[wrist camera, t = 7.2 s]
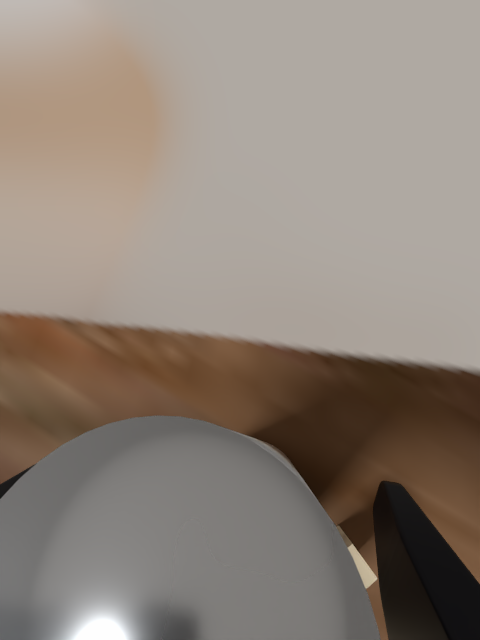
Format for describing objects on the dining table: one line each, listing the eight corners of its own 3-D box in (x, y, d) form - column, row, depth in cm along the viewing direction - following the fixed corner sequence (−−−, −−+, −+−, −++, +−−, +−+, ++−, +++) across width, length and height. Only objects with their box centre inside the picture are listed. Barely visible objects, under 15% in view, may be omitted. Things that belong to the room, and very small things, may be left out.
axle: (235, 569, 14) (-36, 1304, 2) (188, 472, 16) (-118, 554, 4) (321, 511, 14) (521, 828, 2) (266, 422, 16) (224, 345, 4)
